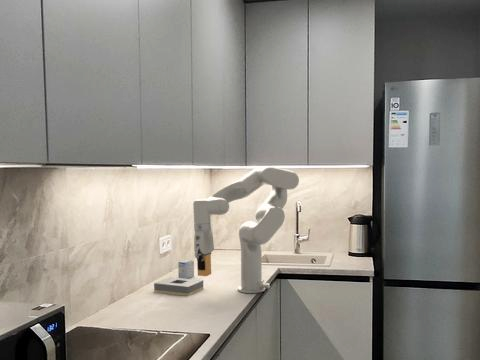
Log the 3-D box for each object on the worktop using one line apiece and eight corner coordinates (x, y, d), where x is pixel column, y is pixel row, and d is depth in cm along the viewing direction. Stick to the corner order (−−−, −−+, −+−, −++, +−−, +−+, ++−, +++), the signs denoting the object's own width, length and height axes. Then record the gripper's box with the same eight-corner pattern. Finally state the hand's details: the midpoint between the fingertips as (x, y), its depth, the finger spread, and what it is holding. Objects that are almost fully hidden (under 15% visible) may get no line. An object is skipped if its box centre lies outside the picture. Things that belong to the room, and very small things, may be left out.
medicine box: (187, 275, 256) (187, 259, 256) (194, 276, 254) (194, 260, 254) (178, 278, 250) (178, 261, 249) (185, 279, 247) (184, 262, 247)
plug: (211, 274, 214) (210, 251, 213) (206, 276, 210) (205, 253, 209) (202, 273, 216) (201, 251, 215) (197, 275, 212) (196, 252, 211)
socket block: (203, 288, 227) (203, 280, 227) (188, 295, 214) (188, 286, 214) (170, 285, 235) (170, 277, 234) (154, 291, 222) (154, 283, 222)
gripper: (200, 230, 203) (202, 273, 203) (219, 225, 218) (220, 265, 219) (185, 229, 206) (187, 272, 206) (204, 224, 221) (206, 264, 222)
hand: (204, 268), depth 213 cm, fingers closed on plug, 4 cm apart
